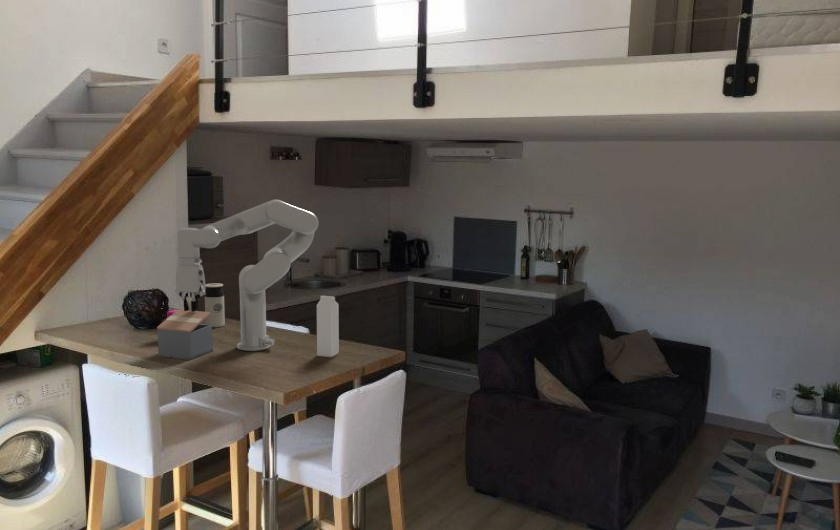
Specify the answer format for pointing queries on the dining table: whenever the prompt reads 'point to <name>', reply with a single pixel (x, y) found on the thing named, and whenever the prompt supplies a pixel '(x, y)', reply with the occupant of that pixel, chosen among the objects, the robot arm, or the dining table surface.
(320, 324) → the milk
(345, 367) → the dining table surface
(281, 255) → the robot arm
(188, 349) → the carton
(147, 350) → the dining table surface
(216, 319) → the travel mug
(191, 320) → the lid
